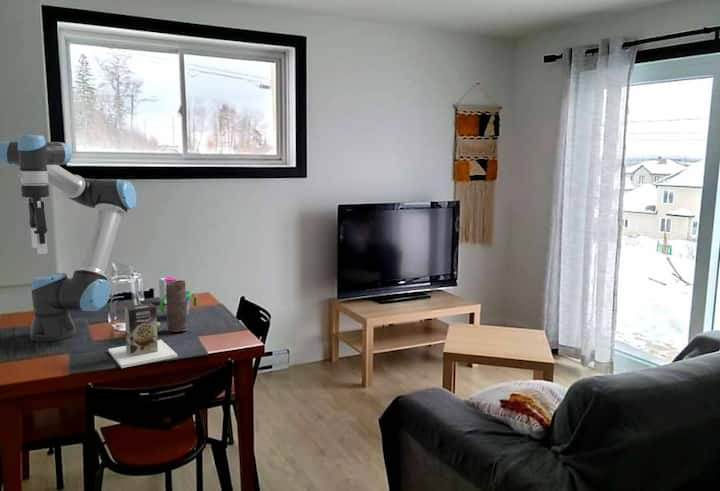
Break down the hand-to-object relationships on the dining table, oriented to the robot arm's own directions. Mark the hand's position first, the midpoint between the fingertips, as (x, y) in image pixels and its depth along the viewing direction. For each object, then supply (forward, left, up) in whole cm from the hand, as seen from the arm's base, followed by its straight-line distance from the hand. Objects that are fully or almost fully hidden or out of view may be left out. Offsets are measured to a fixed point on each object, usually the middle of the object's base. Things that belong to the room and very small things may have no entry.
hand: (39, 250), depth 181 cm
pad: (+13, +27, -37) cm, 47 cm away
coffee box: (+13, +27, -36) cm, 47 cm away
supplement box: (-48, +55, -37) cm, 82 cm away
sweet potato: (-5, +45, -37) cm, 58 cm away
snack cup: (-24, +52, -37) cm, 68 cm away
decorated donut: (-12, +35, -37) cm, 52 cm away
